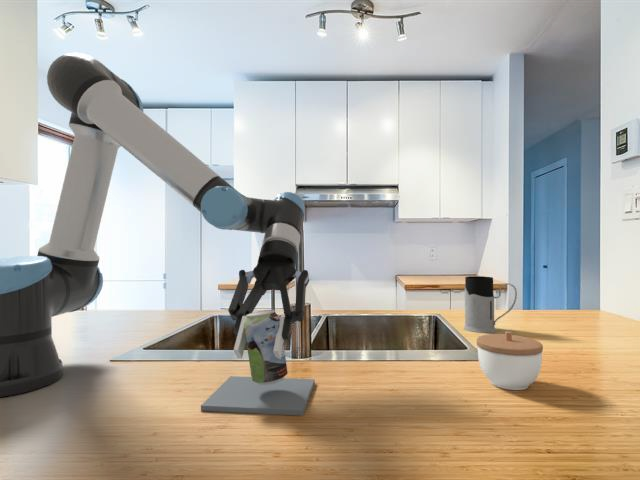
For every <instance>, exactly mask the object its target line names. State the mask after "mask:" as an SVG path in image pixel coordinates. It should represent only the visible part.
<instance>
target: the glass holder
mask: <svg viewBox="0 0 640 480" xmlns="http://www.w3.org/2000/svg"><path fill="white" fill-rule="evenodd" d="M464 279H465V284H464V326H463V330H464V331H468V332H471V333H477V334H493V333H495V332H497V329H496V327H495V326H496V322H497V321H498V320H499V319H501V318H503V317H505V316H506V315H507V314H508V313H510V312H511V310H512V309H513V308H514V306H515V304H516V301H517V299H518V298H517V296H518V295H517V293H518V292H517V288H516V287H515V285H514V284H511V283H507V282H506V283H503V284H501V285H500V287H499V289H498V296H495V295H494V277H491V276H484V275H483V276H482V275H481V276H480V275H479V276H474V275H470V276H465V277H464ZM508 285H510V286H511V287H513V289H514V301H513V303H512V304H511V306H510V307H509V308H508V310H507V311H505V312H504V313H503V314H501V315H500V316H498V317H497V318H496V319H495V299H499V298H500V297H501V295H502V294H501V291H502V289H503V287H504V286H508Z"/></svg>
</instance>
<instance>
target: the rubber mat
mask: <svg viewBox="0 0 640 480" xmlns="http://www.w3.org/2000/svg"><path fill="white" fill-rule="evenodd" d="M315 382H316V381H315V378H294V377H293V378H291V377H289V378H288V377H284V379H283V380H281V381H279V382H277V383H274V384H269V385H259V384H257V382H254V381H252V377H251V376H240V375H239V376H236V375H235V376H234V375H231V376H229V377H228V378H227V379H226V380H225V381H224V382H223V383H222V384H221V385H220V386H219V387H218V388H216V390H215V391H214V392H213V393H212V394H211V395H210V396H209V397H208V398H207V399H206V400H205V401H204V402H202V404H201V405H200V411H201V412H220V413H221V412H222V413H239V414H241V413H242V414H259V415H279V416H282V415H283V416H284V415H285V416H302V417H303V416H304V413H305V410H306V407H307V405H308V403H309V400H310V397H311V394H312V391H313V389H314V386H315Z"/></svg>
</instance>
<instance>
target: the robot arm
mask: <svg viewBox="0 0 640 480" xmlns="http://www.w3.org/2000/svg"><path fill="white" fill-rule="evenodd" d="M46 80H47V83H46V84H47V88H48V90H49V92H50V94H51V96H52V97H53V99H54V100H55V101H56V102H57V103H58V104H59V105H60V106H61V107H63V108H64V109H66V110H67V111H69V112H71V113H70V117H69V122H68V127H69V128H70V130H71V131H72V133H73V134H74V138H73V142H72V146H71V150H70V154H69V158H68V162H67V166H66V167H67V168H66V171H65V175H64V180H63V182H62V187H61V192H60V195H59V201H58V203H57V204H58V205H57V209H56V213H55V217H54V220H53V225H52V228H51V229H52V230H51V234H50V238H49V240H48V241H49V242H48V243H46V244H44V245H42V246H41V247H39V248H38V252H37V255H27V256H14V257H4V258H0V398H1V397H2V398H3V397H9V396H14V395H19V394H23V393H24V394H25V393H27V392H28V393H29V392H31V391H35V390H37V389H41V388H44V387H47V386H49V385H51V384H53V383H55V382H58V381H59V380H60V379H62V377H63V376H64V373H63V372H64V369H63V368H64V367H63V364H64V363H63V361H62V360H61V359H60V358H59V354H58V351H57V347H56V345H55V342H54V339H53V334H52V331H53V330H52V329H53V328H52V327H53V326H52V325H53V323H52V319H53V317H56V316H60V315H63V314H68V313H73V312H76V311H79V310H81V309H84V308H85V307H86V306H89V305H90V304H92V303H93V302H94V301H96V299H97V298H98V297H99V295H100V294H101V292H102V288H103V286H104V285H103V284H104V278H103V273H102V272H101V270H100V267H99V262H100V256H99V255H98V253H97V252H96V251H95V248H96V247H95V246H96V242H97V239H98V234H99V230H100V225H101V221H102V217H103V213H104V209H105V205H106V201H107V196H108V192H109V187H110V184H111V180H112V175H113V171H114V167H115V163H116V159H117V156H118V155H117V154H118V150H119V148H121V147H122V148H123V149H124V150H125V151H127V152H128V153H129V154H130V155H132V156H133V157H134V158H135V159H136V160H137V161H139V162H140V163H141V164H142V165H143V166H145V167H146V168H147V169H148V170H149V171H150V172H152V173H153V174H155V176H157V177H158V178H159V179H160V180H162V181H163V182H164V183H165V184H166V185H168V186H169V187H170V188H171V189H173V190H174V191H175V192H176V193H177V194H178V195H180V196H181V197H182V198H183V199H185V200H186V201H187V202H188V203H189V204H191V205H192V206H193V207H194V208H195V209H196V210H197V211H198V212H199V213H201V214H202V217H203V218H204V220H206V222H207V223H208V224H209V225H212V226H213V227H214V228H216V229H219V230H223V231H225V230H229V231H232V230H233V231H241V232H250V233H259V234H264V236H263V240H262V243H261V248H260V251H259V254H258V255H259V256H258V259H257V264H256V266H255V267H254V268H253V270H250V271H246V270H245V269H240V270H239V272H238V279H239V280H238V282H237V284H236V288H235V291H234V293H233V296H232V298H231V301H230V304H229V307H228V314H229V316H230V318H231V320H232V321H235V324H234V327H233V328H234V329H233V335H234V337H235V339H236V340H235V343H234V346H233V352H234V354H235V355H236V358H237V359H243V357H244V352H245V347H246V345H247V342H246V335H245V328H244V322H245V320H246V315H247V314H250V313H254V310H255V309H256V307H257V305H258V304H259V301H260V300H261V298H262V297H263V296H265V294H266V292H267V291H272V290H274V291H280V292H279V293H280V297H281V298H280V299H281V302H282V309H283V314H284V316H279V318H280V325H279V330H278V333H277V335H276V339H275V344H274V350H273V352H274V355H275V357H276V358H278V359H280V360H281V352H282V344H284V342H285V340H290V338H291V334H292V327H293V324H294V323H295V322H299V323H300V322H303V321H304V319H305V307H306V306H305V305H306V304H305V303H306V289H307V286H308V284H309V282H310V277H309V276H310V275H309V271H308V270H307V269H304V270H302V271H299V270H297V268H296V267H297V260H298V253H299V249H300V248H299V247H300V243H301V236H302V233H303V232H302V231H303V226H304V221H305V202H304V200H303V199H302V197H300V195H298V194H296V193H294V192H292V191H284V192H281V193H278V194H277V195H276V196H275V197H274V199H262V198H255V197H249V196H246V195H244V194H242V193H241V192H239V191H238V190H237V189H236V188H235V187H233V186H232V185H231V184H230V183H229V182H227V181H226V180H225V179H224V178H222V177H221V176H220V175H219V174H218V173H217V172H216V171H214V170H213V169H212V168H210V167H209V166H208V165H207V164H205V162H203V161H202V160H201V159H200V158H199V157H197V156H196V155H195V154H193V152H192V151H190V150H189V149H188V148H187V147H186V146H184V145H183V144H182V143H181V142H180V141H178V140H177V139H176V138H175V137H173V135H171V134H170V133H169V132H167V131H166V130H165V129H164V128H163V127H162V126H160V125H159V124H158V123H157V122H155V121H154V120H153V119H152V118H151V117H149V116H148V115H147V114H146V113H145V112H144V106H143V102H142V100H141V98H140V96H139V95H138V93H137V92H136V91H135V90H134V88H133V87H132V86H131V85H130V83H128V82H127V81H125V80H124V79H122V78H120V77H119V76H118V75H117V74H115V73H114V72H113V71H112V70H110V69H109V68H108V67H107V66H105V64H103V63H102V62H100V61H99V60H98V59H96V58H95V57H93V56H91V55H87V54H84V53H78V52H74V53H73V52H71V53H65V54H62V55H60V56H59V57H57V58H56V59H54V61H52V63H51V64H50V65H49V68H48V71H47V75H46ZM254 278H255V281H254V285H253V287H252V288H251V290H250V292H249V294H247V292H248V290H249V285H251V282H252V280H253V279H254ZM295 279H296V284H297V285H296V286H297V287H296V297H295V309H294V310H292V308H291V303H290V298H289V293H288V287H287V286H288V285H289V284H291V283H292V282H293V281H294V280H295ZM246 296H247V297H246Z"/></svg>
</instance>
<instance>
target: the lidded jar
mask: <svg viewBox="0 0 640 480" xmlns="http://www.w3.org/2000/svg"><path fill="white" fill-rule="evenodd" d="M512 333H513V332H512V331H505V333H503V334H502V333H494V334H493V333H488V334H483V335H481V336H480V335H479V336H478V337H477V338H476V345H477V357H478V358H477V359H478V364H479V366H480V369H481V371H482V372H483V373H482V374H484V376H486V378H487V379H488V380H489V381H490V384H491V385H493V386H495V387H498V388H499V389H504V390H508V391H523V390H526V389H529V386H530V385H531V384H533V383H534V382H535V381H536V380H537V379H538V378H539V375H540V372H541V368H542V363H543V350H544V348H543V347H544V345H543V343H541V342H540V341H538V340H535V339H534V338H530V337H525V336H522V335H514V334H512Z"/></svg>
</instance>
